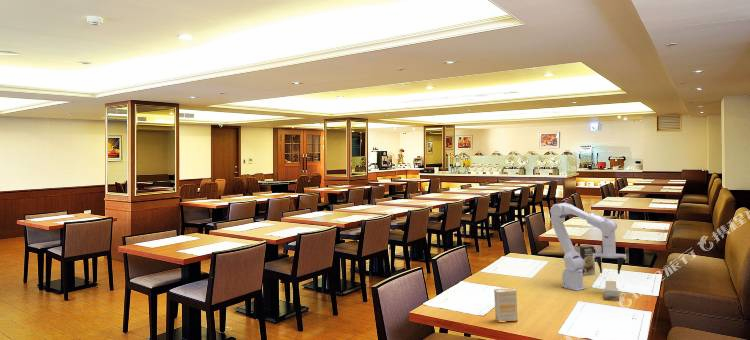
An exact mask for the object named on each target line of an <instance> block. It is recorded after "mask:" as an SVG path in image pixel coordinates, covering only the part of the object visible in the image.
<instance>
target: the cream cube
mask: <svg viewBox="0 0 750 340" xmlns="http://www.w3.org/2000/svg"><path fill="white" fill-rule="evenodd" d="M605 288H606V290H608V291H616V288H617V279H616V278H605Z"/></svg>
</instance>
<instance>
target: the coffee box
mask: <svg viewBox="0 0 750 340" xmlns="http://www.w3.org/2000/svg"><path fill="white" fill-rule="evenodd" d="M573 247H574V249H575V251H576V252H578V253H579V255H580V256H581V258H583V260H584V262H585V265H584V267H583V268H582V270H583V275H585V276H590V275H589V274H595V275H596V268H595V267H596V258H593V253H595V246H593V245H589V244H586V245H585V244H584V245H573Z"/></svg>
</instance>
